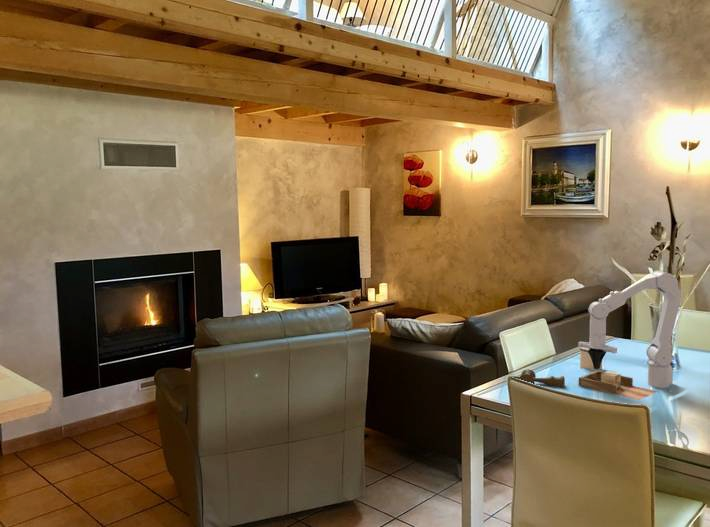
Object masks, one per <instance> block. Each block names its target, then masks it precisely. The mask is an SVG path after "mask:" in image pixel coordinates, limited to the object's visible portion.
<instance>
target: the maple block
mask: <svg viewBox="0 0 710 527" xmlns="http://www.w3.org/2000/svg"><path fill="white" fill-rule="evenodd" d="M603 372H604V373H602V374H601V382H604V383H608V384H613V385H616V388H619V387H620V380H621V376H622V373H618V372H613V371H609V370H607V371H603Z"/></svg>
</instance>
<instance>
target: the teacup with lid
mask: <svg viewBox="0 0 710 527" xmlns="http://www.w3.org/2000/svg"><path fill="white" fill-rule="evenodd" d="M579 350H580V352H579V354H580V357H579V360H580V362H579V363H580V364H579V368H580V369H587V370H588V369H589V370H595V369H594V367H593V362H592V359H591V357H590V355H589V353H588V350H589V348H584V347H579ZM602 369H603V361H602V362H601V365H600V368H599V369H598V370H602Z"/></svg>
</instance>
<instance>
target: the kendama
mask: <svg viewBox="0 0 710 527" xmlns="http://www.w3.org/2000/svg"><path fill="white" fill-rule="evenodd" d="M536 375H537V374H536V373H535V372H534V371H533V370H532V369H529V368H528V369H524V370H522V372H521V375H519V376H518V375H517V376H515V375H514V376H510V378H511V377H514V378H513V379H515V378H517V380H519V379H521V380H524V381H527V382H531V383H533V384H534V385H535V383H539V384H540V383H541V384H543V385H547V386H549V387H558V388H563V389H564V388H565V379H566V378H565V376H564V375H561V376H560V377H558V376H557V377H555V376H553V375H551V376H548V377H536Z"/></svg>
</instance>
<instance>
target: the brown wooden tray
mask: <svg viewBox="0 0 710 527" xmlns="http://www.w3.org/2000/svg"><path fill="white" fill-rule="evenodd" d="M604 372H605V371H602V370H595V371H593V372H590V373H587V374H585V375H581V376H580V377H578V386H579V387H583V388H588V389H591V390H596V391H600V392H605V393H609V394H613V395H617V396H622V397H625V398H630V399H634V400H637V401H641V400H643V399H644V398H646V397H648V396H651V395H653V394H655V393H657V392H658V390H653V389H648V388H645V387H640V386H635V385H634V384H633V383H634V380H633V377H630V376H625V375H621V380H620V387H619V388H616V385H613V384H608V383H604V382H601V374H602V373H604Z"/></svg>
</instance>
